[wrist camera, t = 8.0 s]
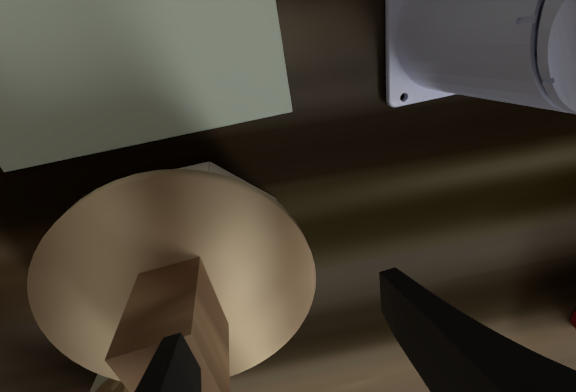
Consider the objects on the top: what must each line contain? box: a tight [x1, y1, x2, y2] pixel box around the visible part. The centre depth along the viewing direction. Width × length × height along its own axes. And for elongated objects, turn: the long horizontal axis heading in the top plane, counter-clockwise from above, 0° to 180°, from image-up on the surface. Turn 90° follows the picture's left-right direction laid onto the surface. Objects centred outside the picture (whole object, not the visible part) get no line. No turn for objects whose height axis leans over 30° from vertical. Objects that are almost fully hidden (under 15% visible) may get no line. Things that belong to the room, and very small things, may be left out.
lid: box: [27, 169, 316, 392], centre depth 14 cm, size 14×14×6 cm
